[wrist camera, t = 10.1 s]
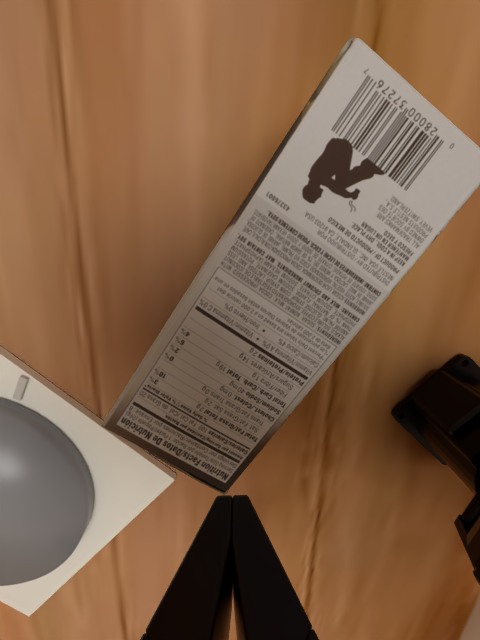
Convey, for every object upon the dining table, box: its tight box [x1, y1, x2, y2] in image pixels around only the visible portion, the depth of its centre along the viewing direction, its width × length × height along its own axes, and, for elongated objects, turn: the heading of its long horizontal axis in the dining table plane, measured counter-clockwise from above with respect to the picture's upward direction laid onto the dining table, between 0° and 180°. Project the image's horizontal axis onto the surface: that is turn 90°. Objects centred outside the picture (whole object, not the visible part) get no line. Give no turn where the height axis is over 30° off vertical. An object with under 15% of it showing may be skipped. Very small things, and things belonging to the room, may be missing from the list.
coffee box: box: [102, 38, 480, 494], centre depth 15 cm, size 9×6×16 cm
